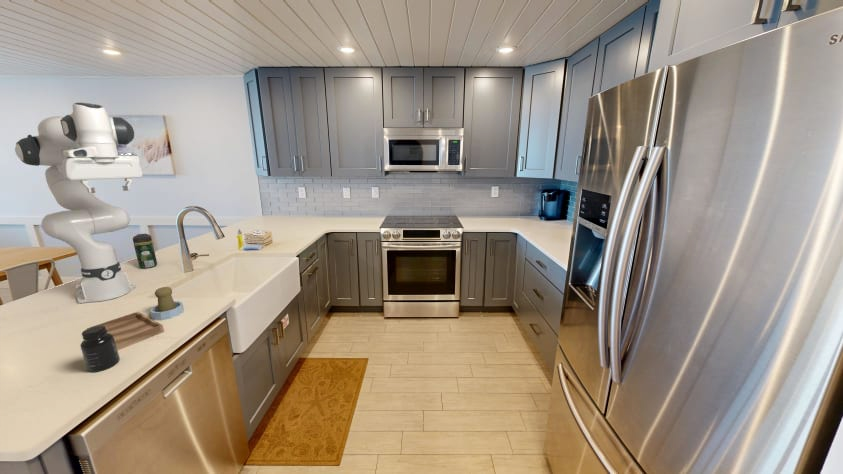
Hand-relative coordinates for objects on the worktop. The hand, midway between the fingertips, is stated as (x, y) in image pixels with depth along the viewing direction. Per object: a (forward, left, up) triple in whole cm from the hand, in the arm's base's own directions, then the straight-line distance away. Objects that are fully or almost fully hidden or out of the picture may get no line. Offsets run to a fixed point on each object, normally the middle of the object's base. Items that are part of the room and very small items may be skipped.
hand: (109, 191), depth 112 cm
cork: (+12, +5, -48) cm, 50 cm away
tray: (+16, -9, -48) cm, 51 cm away
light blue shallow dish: (+12, +5, -48) cm, 50 cm away
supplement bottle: (+33, -20, -48) cm, 61 cm away
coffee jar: (-62, +26, -48) cm, 82 cm away
